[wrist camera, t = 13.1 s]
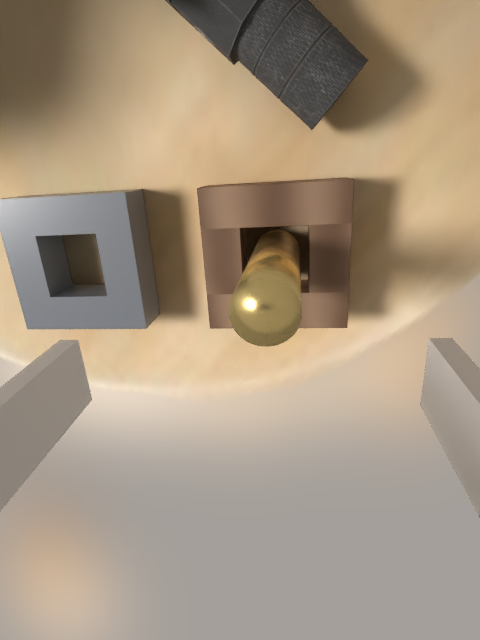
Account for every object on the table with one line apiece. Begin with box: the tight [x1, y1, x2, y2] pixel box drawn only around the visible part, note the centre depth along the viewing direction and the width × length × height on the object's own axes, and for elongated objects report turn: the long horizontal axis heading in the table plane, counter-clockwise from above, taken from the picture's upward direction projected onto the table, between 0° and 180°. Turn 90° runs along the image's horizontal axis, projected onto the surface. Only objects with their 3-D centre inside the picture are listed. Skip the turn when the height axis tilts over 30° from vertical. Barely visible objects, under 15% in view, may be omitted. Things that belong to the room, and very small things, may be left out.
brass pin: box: [229, 229, 302, 346], centre depth 29 cm, size 4×4×16 cm
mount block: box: [0, 189, 160, 329], centre depth 37 cm, size 12×12×4 cm
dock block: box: [197, 178, 354, 328], centre depth 34 cm, size 12×12×4 cm
